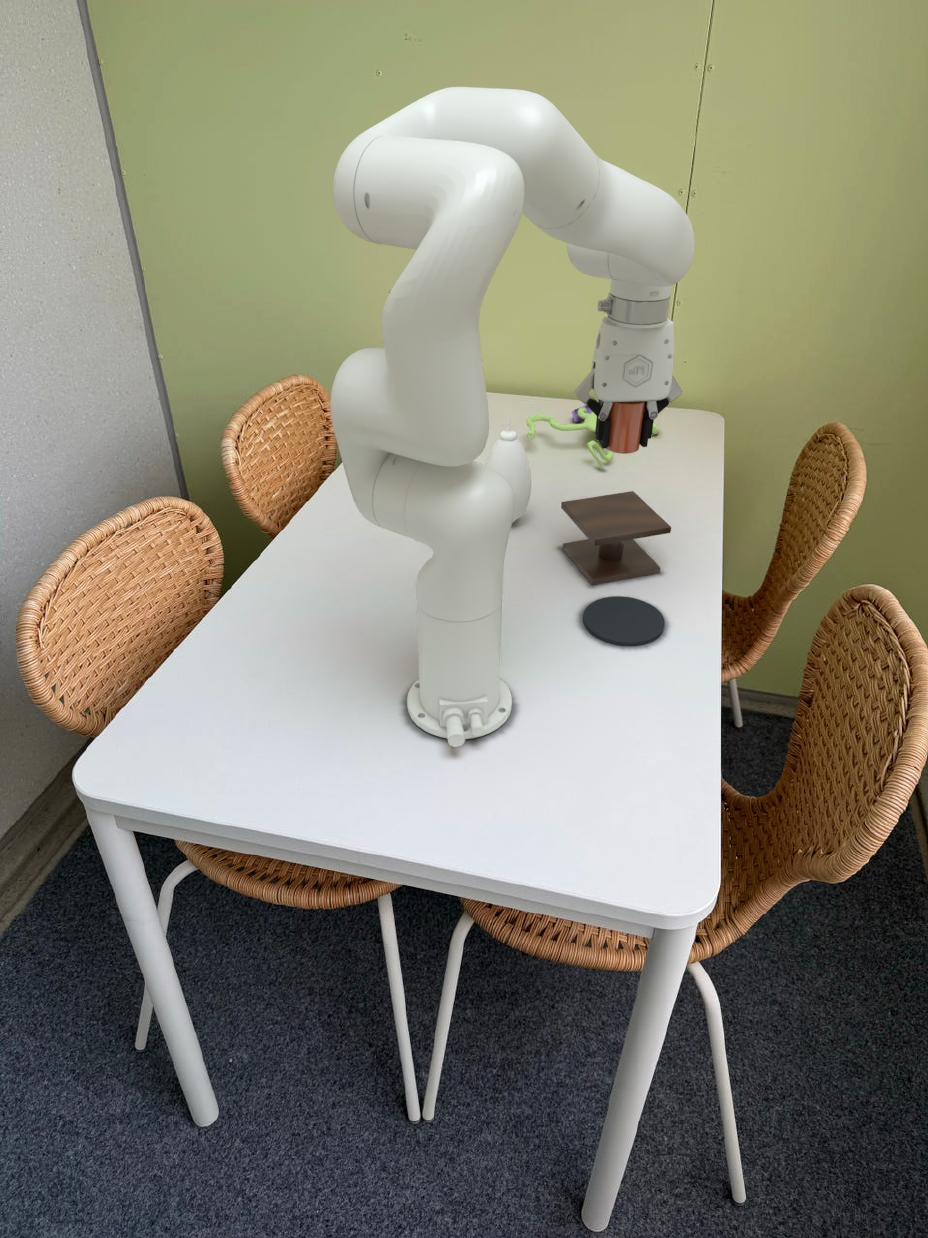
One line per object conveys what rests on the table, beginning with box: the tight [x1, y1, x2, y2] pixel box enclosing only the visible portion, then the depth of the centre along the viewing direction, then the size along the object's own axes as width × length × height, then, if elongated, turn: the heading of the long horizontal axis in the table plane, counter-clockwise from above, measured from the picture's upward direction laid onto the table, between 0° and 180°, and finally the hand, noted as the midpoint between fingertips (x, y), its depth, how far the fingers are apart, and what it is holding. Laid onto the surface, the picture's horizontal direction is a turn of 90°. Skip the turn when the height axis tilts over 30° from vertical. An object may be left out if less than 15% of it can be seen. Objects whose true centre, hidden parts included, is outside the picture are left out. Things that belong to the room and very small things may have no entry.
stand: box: [560, 490, 672, 586], centre depth 130 cm, size 12×12×8 cm
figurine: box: [525, 404, 660, 470], centre depth 167 cm, size 18×27×6 cm
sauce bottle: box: [485, 416, 532, 523], centre depth 137 cm, size 8×8×18 cm
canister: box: [605, 401, 645, 455], centre depth 119 cm, size 5×5×7 cm
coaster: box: [582, 595, 666, 647], centre depth 119 cm, size 11×11×1 cm
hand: (622, 442), depth 120 cm, fingers closed on canister, 4 cm apart
